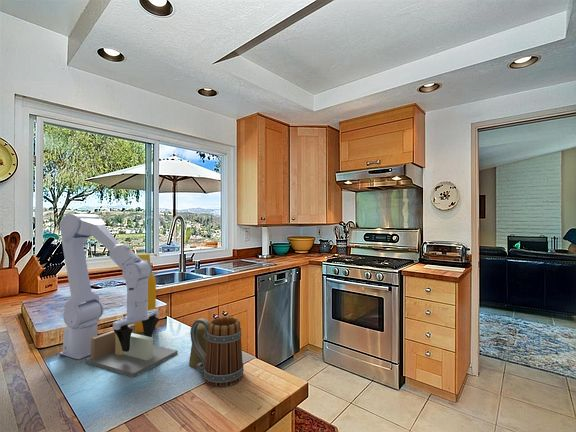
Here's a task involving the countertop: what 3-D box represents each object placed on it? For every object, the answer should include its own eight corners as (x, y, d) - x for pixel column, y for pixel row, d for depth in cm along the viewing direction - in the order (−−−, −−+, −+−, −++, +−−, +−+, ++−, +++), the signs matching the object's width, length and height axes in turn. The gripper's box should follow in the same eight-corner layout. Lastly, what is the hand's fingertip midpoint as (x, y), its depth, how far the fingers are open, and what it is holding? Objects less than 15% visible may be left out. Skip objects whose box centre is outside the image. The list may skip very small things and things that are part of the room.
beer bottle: (159, 328, 118) (160, 254, 119) (135, 335, 111) (136, 256, 112) (149, 323, 124) (150, 252, 125) (125, 329, 118) (126, 254, 118)
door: (112, 353, 94) (112, 333, 94) (124, 348, 98) (124, 329, 98) (144, 362, 88) (144, 341, 88) (155, 356, 92) (156, 336, 92)
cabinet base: (85, 362, 90) (86, 338, 90) (133, 343, 104) (133, 322, 105) (133, 377, 82) (133, 351, 82) (177, 353, 96) (177, 331, 96)
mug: (250, 371, 85) (250, 317, 85) (231, 391, 75) (231, 330, 75) (202, 362, 90) (203, 311, 90) (179, 380, 80) (179, 323, 81)
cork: (204, 368, 86) (204, 330, 87) (184, 366, 88) (185, 328, 88) (213, 359, 92) (213, 323, 93) (195, 357, 94) (195, 321, 94)
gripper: (125, 308, 84) (124, 358, 84) (165, 297, 98) (165, 339, 97) (108, 305, 87) (107, 353, 87) (149, 294, 101) (149, 336, 100)
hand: (136, 346), depth 92 cm, fingers open, 7 cm apart
